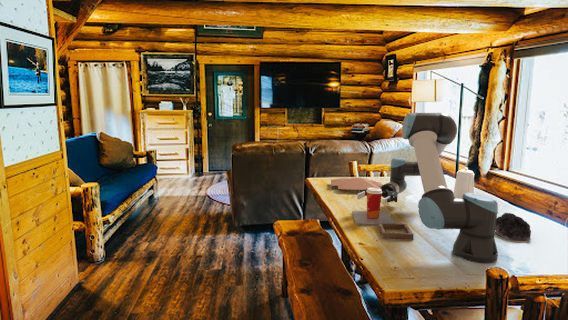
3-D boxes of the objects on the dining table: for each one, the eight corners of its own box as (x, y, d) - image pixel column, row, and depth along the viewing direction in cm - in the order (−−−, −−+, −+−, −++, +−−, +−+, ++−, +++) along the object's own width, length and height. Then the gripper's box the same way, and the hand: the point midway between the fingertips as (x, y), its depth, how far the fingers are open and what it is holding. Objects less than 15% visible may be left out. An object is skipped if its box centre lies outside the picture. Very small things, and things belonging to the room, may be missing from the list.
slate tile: (395, 226, 164) (395, 224, 164) (356, 225, 166) (356, 223, 165) (387, 213, 182) (387, 211, 181) (352, 212, 183) (352, 210, 183)
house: (385, 195, 215) (386, 182, 213) (330, 193, 219) (331, 181, 218) (380, 186, 237) (380, 174, 236) (330, 184, 242) (331, 172, 240)
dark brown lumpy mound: (532, 245, 145) (537, 222, 143) (494, 237, 151) (499, 214, 149) (527, 236, 157) (532, 215, 155) (492, 228, 163) (496, 208, 161)
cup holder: (413, 240, 149) (413, 234, 148) (383, 238, 150) (383, 233, 149) (406, 229, 161) (406, 223, 160) (378, 228, 162) (378, 222, 162)
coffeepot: (459, 205, 196) (462, 171, 192) (448, 192, 220) (450, 163, 216) (480, 206, 193) (484, 172, 190) (466, 193, 217) (469, 163, 214)
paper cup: (369, 213, 179) (370, 186, 177) (383, 216, 174) (385, 189, 172) (362, 217, 173) (363, 189, 171) (376, 220, 168) (378, 192, 166)
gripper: (412, 201, 178) (394, 212, 162) (367, 192, 194) (347, 201, 178) (413, 187, 177) (395, 196, 161) (368, 179, 192) (348, 187, 176)
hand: (370, 199), depth 169 cm, fingers open, 13 cm apart
